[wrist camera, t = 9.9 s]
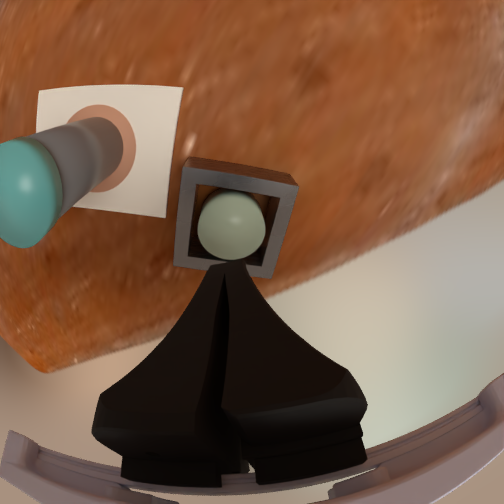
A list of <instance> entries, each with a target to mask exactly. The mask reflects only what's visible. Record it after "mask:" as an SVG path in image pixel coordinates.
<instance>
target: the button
mask: <svg viewBox="0 0 504 504" xmlns="http://www.w3.org/2000/svg"><path fill="white" fill-rule="evenodd" d="M198 236H199V240H200V242H201V244H202V245H203V247H204V248H205V249H206V250H207V251H208V252H209V253H211V254H212V255H214V256H216V257H219V258H222V259H228V260H235V259H240V258H244V257H246V256H248V255H250V254H252V253H253V252H254V251H256V250H257V249H258V247H259V246H260V245H261V243H262V241H263V239H264V236H265V223H264V219H263V215H262V212H261V208H260V205H259V203H258V201H257V199H256V198H255V197H254V196H253V195H252V194H251V193H249V192H247V191H241V190H235V189H228V188H222V189H219V190H217V191H215V192H213V193H212V194H211V195H210V196H209V197H208V198H207V199H206V200H205V202H204V204H203V206H202V210H201V214H200V219H199V223H198Z"/></svg>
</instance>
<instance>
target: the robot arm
mask: <svg viewBox="0 0 504 504" xmlns="http://www.w3.org/2000/svg"><path fill="white" fill-rule="evenodd" d="M367 405H368V404H367V401H366V398H365V396H364V394H363V392H362V390H361V388H360V386H359V385H358V383H357V382H356V380H355V379H354V377H353V376H352V374H351V373H350V372H349V371H348V369H346V368H344V367H342V366H340V365H339V364H337V363H336V362H334V361H333V360H331V359H329V358H328V357H326V356H325V355H323V354H322V353H321V352H319V351H318V350H316V349H315V348H314V347H312V346H311V345H310V344H309V343H307V342H306V341H305V340H304V339H302V338H301V337H300V336H299V335H298V334H296V333H295V332H294V331H293V330H292V329H291V328H290V327H289V326H288V325H287V324H286V323H285V322H284V321H283V320H282V319H281V318H280V317H279V316H278V315H277V314H276V313H275V311H274V310H273V309H272V308H271V307H270V305H269V304H268V303H267V302H266V300H265V299H264V298H263V296H262V295H261V293H260V292H259V290H258V289H257V287H256V286H255V284H254V282H253V281H252V279H251V277H250V275H249V273H248V271H247V268H246V263H245V261H243V260H238V261H232V262H226V263H220V264H214V265H210V267H209V268H208V270H207V272H206V274H205V276H204V278H203V280H202V282H201V284H200V286H199V288H198V289H197V291H196V293H195V295H194V296H193V298H192V300H191V301H190V303H189V305H188V306H187V308H186V309H185V311H184V312H183V314H182V315H181V317H180V318H179V320H178V321H177V323H176V324H175V325H174V327H173V328H172V329H171V330H170V332H169V333H168V334H167V335H166V337H165V338H164V339H163V340H162V341H161V342H160V343H159V344H158V346H157V347H156V348H155V349H154V350H153V351H152V352H151V353H150V354H149V355H148V356H147V357H146V358H145V359H144V360H143V361H142V362H141V363H140V364H139V365H137V366H136V367H135V368H134V369H133V370H132V371H130V372H129V373H128V374H127V375H126V376H124V377H123V378H122V379H121V380H119V381H118V382H117V383H115V384H114V385H112V386H111V387H110V388H108V389H107V390H105V391H104V392H102V393H101V394H100V397H99V400H98V403H97V407H96V412H95V416H94V421H93V425H92V434H93V436H94V437H95V439H96V440H97V441H99V442H100V443H102V444H103V445H105V446H106V447H108V448H109V449H111V450H113V451H114V452H116V453H118V454H119V455H121V456H123V457H122V466H121V468H119V467H114V466H109V465H104V464H99V463H95V462H91V461H87V460H82V459H79V458H75V457H72V456H68V455H65V454H62V453H59V452H56V451H53V450H50V449H47V448H44V447H41V446H39V445H38V444H37V443H35V442H34V441H33V440H31V439H29V438H28V437H26V436H24V435H22V434H19V433H17V432H14V431H12V430H9V433H8V436H7V440H6V444H5V448H4V452H3V456H2V461H1V466H0V477H1V478H3V479H4V480H6V481H7V482H9V483H10V484H12V485H13V486H15V487H17V488H18V489H20V490H21V491H23V492H24V493H25V494H27V495H29V496H30V497H32V498H33V499H35V500H36V501H38V502H39V503H41V504H179V503H178V502H175V501H170V500H166V499H162V498H158V497H155V496H153V495H150V494H145V493H140V492H136V491H131V490H130V489H129V488H133V489H139V490H146V491H153V492H161V493H170V494H183V495H210V496H212V495H213V496H218V495H219V496H220V495H246V494H258V493H267V492H276V491H283V490H290V489H296V488H302V487H307V486H312V485H317V484H321V483H326V482H330V481H334V480H338V479H341V478H345V477H349V476H352V475H355V474H359V473H362V472H365V471H368V470H371V469H374V468H375V469H374V470H371V471H369V472H366V473H363V474H361V475H358V476H355V477H353V478H350V479H347V480H344V481H341V482H338V483H335V484H334V485H333V488H332V489H330V490H329V491H328V495H329V499H328V500H324V501H319V502H314V503H309V504H433V503H434V502H436V501H438V500H439V499H441V498H443V497H444V496H446V495H447V494H449V493H450V492H452V491H453V490H455V489H456V488H458V487H459V486H460V485H462V484H463V483H465V482H466V481H467V480H469V479H470V478H471V477H472V476H474V475H475V474H477V473H478V472H479V471H480V470H482V469H483V468H484V467H485V466H486V465H488V464H489V463H490V462H491V461H492V460H493V459H495V458H496V457H497V456H498V455H499V454H500V453H501V452H502V451H503V450H504V373H503V374H501V375H500V376H499V377H497V378H496V379H494V380H493V381H492V382H490V383H489V384H488V385H487V386H486V387H485V388H484V389H483V390H482V391H481V392H480V393H479V395H478V396H477V397H476V398H474V399H473V400H471V401H470V402H468V403H466V404H465V405H463V406H461V407H459V408H458V409H456V410H454V411H452V412H451V413H449V414H447V415H445V416H443V417H441V418H439V419H437V420H436V421H434V422H432V423H429V424H427V425H426V426H423V427H421V428H419V429H417V430H415V431H412V432H410V433H408V434H405V435H403V436H401V437H398V438H396V439H393V440H391V441H388V442H385V443H382V444H380V445H377V446H375V447H371V448H368V449H365V448H364V445H363V441H362V438H361V437H362V436H363V432H362V428H361V425H360V421H361V420H362V418H363V416H364V414H365V412H366V410H367ZM249 464H250V465H251V466H252V467H253V468H254V469H255V472H254V473H248V472H249V471H250V469H249ZM376 467H377V468H376Z"/></svg>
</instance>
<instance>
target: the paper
mask: <svg viewBox="0 0 504 504" xmlns="http://www.w3.org/2000/svg"><path fill="white" fill-rule="evenodd" d="M183 89H184V88H181V87H169V86H153V85H92V86H77V87H65V88H56V89H48V90H41V91H39V97H38V108H37V124H36V133H38V132H41V131H44V130H47V129H51V128H54V127H57V126H61V125H64V124H68V123H71V122H75V121H79V120H83V119H87V118H91V117H102V118H105V119H108V120H109V121H111V122H112V123H113V124H114V125H115V126H116V127H117V128H118V130H119V132H120V134H121V136H122V140H123V156H122V159H121V162H120V164H119V166H118V167H117V169H116V170H115V171H114V172H113V173H112V174H111V175H110V176H108V177H107V178H106V179H105V180H103V181H102V182H101V183H100V184H98V185H97V186H96V187H95V188H93V189H92V190H91V191H90V192H88V193H87V194H86V195H85V196H84V197H82V198H81V199H80V200H79V201H78V202H77V203H75V204H74V205H73V207H81V208H90V209H98V210H107V211H115V212H123V213H131V214H138V215H146V216H154V217H161V218H166V214H167V202H168V192H169V182H170V173H171V164H172V157H173V149H174V142H175V135H176V129H177V122H178V116H179V111H180V105H181V99H182V94H183Z"/></svg>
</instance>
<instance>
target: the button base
mask: <svg viewBox="0 0 504 504" xmlns="http://www.w3.org/2000/svg"><path fill="white" fill-rule="evenodd" d="M199 184H202V185H209V186H216V187H222V188H228V189H235V190H241V191H247V192H252V193H258V194H264V195H269V196H271V197H270V201H269V205H268V209H267V213H266V216H265V220H264V223H265V236H264V239H263V241H262V243H261V245H260V246H259V247H258V249H257V250H256V251H254V252H253V253H252V254H250V255H248V256H246V257H244V258H240V259H235V260H228V259H222V258H219V257H216V256H214V255H212V254H211V253H209V252H208V251H207V250H206V249H205V248H204V247H203V245H202V244H201V242H200V240H199V237H192V232H193V224H194V216H195V208H196V201H197V194H198V187H199ZM298 189H299V186H298V184H297V183H296V182H295V180H294V179H293V178H292V176H291V175H290V174H287V173H282V172H278V171H273V170H268V169H263V168H257V167H252V166H247V165H241V164H235V163H229V162H223V161H217V160H210V159H203V158H196V157H189V158H188V160H187V161H186V163H185V164H184V166H183V170H182V177H181V185H180V194H179V203H178V212H177V223H176V234H175V246H174V261H173V266H178V267H185V268H192V269H199V270H208V268H209V267H210V265H214V264H220V263H226V262H232V261H238V260H243V261H245V263H246V268H247V271H248V273H249V275H250V276H253V277H261V278H269V279H271V278H272V275H273V272H274V269H275V266H276V262H277V259H278V256H279V253H280V249H281V246H282V243H283V240H284V236H285V233H286V230H287V226H288V223H289V219H290V216H291V213H292V209H293V206H294V203H295V199H296V196H297V192H298Z"/></svg>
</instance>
